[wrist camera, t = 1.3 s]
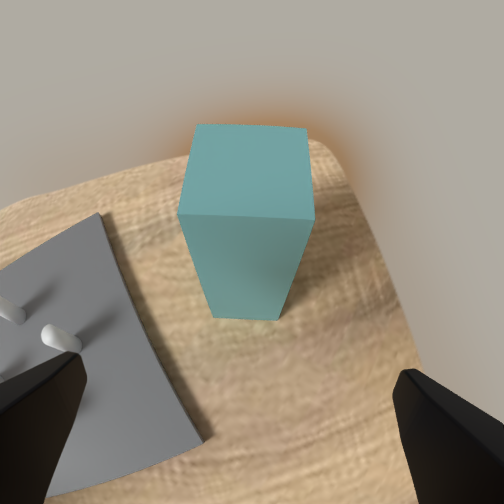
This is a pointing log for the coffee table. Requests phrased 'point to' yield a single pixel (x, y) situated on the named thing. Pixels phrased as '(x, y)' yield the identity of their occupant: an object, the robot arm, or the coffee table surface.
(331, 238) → the coffee table surface
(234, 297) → the teal block
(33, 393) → the robot arm
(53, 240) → the peg plate
